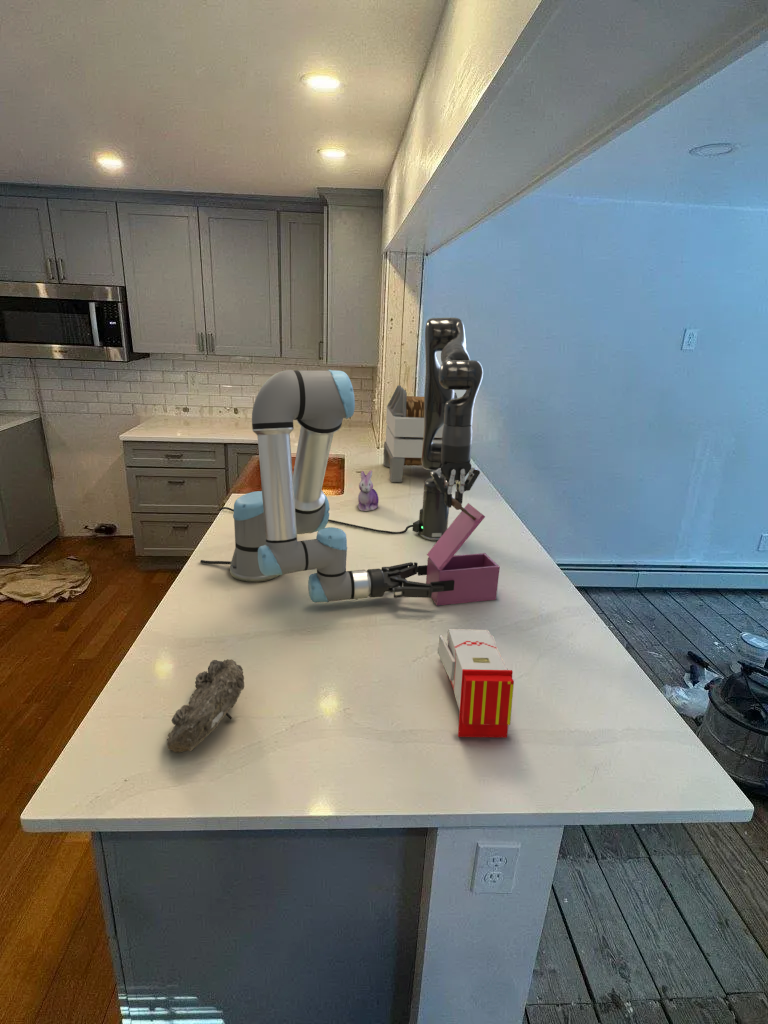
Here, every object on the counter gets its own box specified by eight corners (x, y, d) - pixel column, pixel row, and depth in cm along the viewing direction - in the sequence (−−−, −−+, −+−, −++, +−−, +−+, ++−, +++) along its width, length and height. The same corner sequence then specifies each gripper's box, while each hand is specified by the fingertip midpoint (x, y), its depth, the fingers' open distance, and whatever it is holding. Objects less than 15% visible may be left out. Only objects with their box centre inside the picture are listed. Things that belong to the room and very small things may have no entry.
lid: (470, 505, 156) (449, 488, 152) (485, 516, 147) (463, 499, 144) (429, 556, 158) (407, 541, 154) (441, 570, 149) (418, 554, 146)
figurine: (362, 513, 218) (363, 475, 213) (351, 505, 226) (352, 468, 221) (384, 510, 222) (385, 473, 217) (372, 502, 230) (374, 466, 225)
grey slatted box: (382, 463, 289) (386, 382, 275) (445, 464, 293) (451, 384, 279) (390, 482, 257) (394, 392, 243) (460, 483, 261) (468, 394, 247)
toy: (488, 613, 130) (523, 677, 101) (484, 667, 133) (517, 744, 104) (435, 612, 130) (455, 676, 101) (432, 666, 133) (451, 743, 103)
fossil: (192, 660, 117) (244, 628, 112) (224, 691, 120) (276, 661, 115) (142, 746, 98) (202, 712, 93) (182, 779, 101) (242, 748, 96)
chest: (481, 584, 166) (485, 552, 162) (496, 599, 157) (500, 566, 154) (425, 589, 161) (427, 557, 158) (436, 605, 153) (439, 571, 149)
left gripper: (357, 577, 161) (432, 571, 167) (377, 617, 141) (461, 608, 147) (358, 553, 159) (433, 548, 165) (378, 590, 139) (463, 582, 145)
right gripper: (436, 446, 138) (433, 513, 144) (488, 443, 141) (483, 508, 147) (426, 439, 145) (423, 503, 151) (475, 437, 148) (471, 499, 154)
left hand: (446, 576), depth 156 cm, fingers closed on chest, 9 cm apart
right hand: (453, 506), depth 149 cm, fingers closed on lid, 2 cm apart
